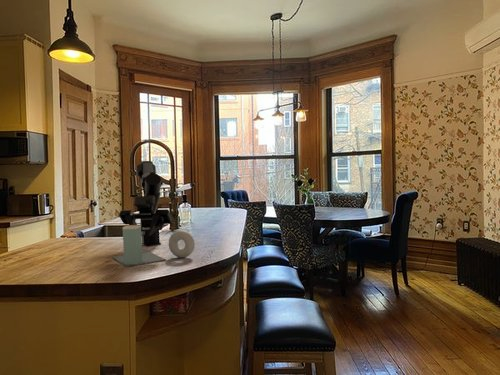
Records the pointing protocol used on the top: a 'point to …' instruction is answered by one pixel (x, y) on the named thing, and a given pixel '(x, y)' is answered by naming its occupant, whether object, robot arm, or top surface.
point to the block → (132, 244)
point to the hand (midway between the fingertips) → (140, 235)
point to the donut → (186, 238)
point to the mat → (146, 258)
